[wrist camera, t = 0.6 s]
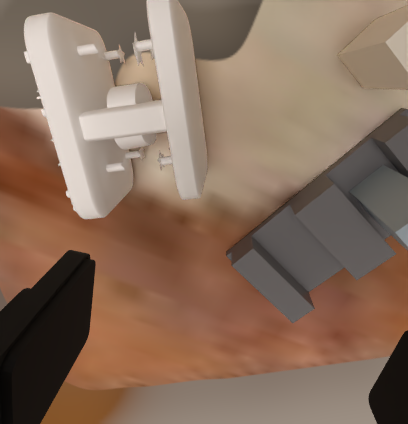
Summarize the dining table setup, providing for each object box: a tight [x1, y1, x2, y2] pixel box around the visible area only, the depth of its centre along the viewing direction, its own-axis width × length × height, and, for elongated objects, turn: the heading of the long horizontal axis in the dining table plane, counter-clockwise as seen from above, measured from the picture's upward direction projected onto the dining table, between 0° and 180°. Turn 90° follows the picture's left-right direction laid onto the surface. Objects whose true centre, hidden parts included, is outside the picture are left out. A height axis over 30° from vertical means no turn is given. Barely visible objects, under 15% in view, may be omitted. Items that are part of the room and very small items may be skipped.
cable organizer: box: [24, 0, 208, 219], centre depth 28 cm, size 15×11×12 cm
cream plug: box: [337, 5, 408, 90], centre depth 25 cm, size 4×4×10 cm
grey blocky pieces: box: [226, 108, 408, 323], centre depth 34 cm, size 23×10×4 cm, turn 135°
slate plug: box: [349, 165, 408, 251], centre depth 29 cm, size 4×4×10 cm
